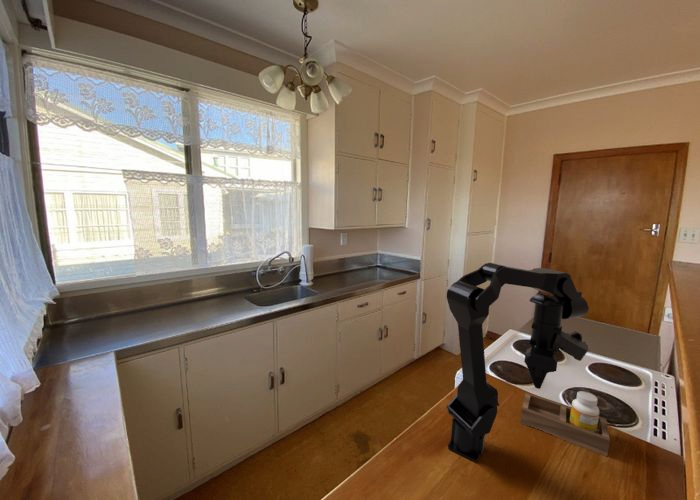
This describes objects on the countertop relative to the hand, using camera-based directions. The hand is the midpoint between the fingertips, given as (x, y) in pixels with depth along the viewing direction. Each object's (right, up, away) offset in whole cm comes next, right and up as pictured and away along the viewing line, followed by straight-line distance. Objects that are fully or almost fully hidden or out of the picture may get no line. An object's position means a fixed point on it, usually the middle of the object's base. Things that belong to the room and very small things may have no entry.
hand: (539, 379), depth 77 cm
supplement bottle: (+10, -13, -1) cm, 16 cm away
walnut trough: (+7, -13, +2) cm, 15 cm away
